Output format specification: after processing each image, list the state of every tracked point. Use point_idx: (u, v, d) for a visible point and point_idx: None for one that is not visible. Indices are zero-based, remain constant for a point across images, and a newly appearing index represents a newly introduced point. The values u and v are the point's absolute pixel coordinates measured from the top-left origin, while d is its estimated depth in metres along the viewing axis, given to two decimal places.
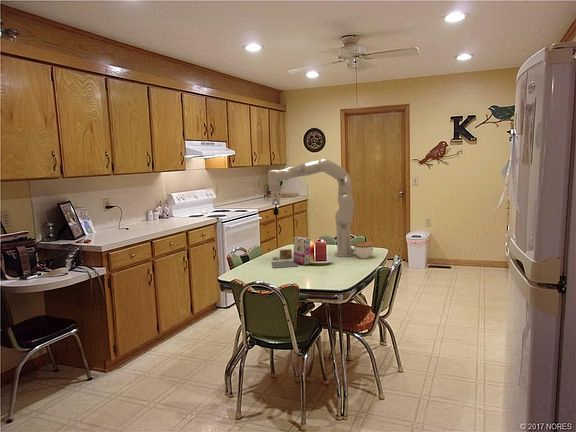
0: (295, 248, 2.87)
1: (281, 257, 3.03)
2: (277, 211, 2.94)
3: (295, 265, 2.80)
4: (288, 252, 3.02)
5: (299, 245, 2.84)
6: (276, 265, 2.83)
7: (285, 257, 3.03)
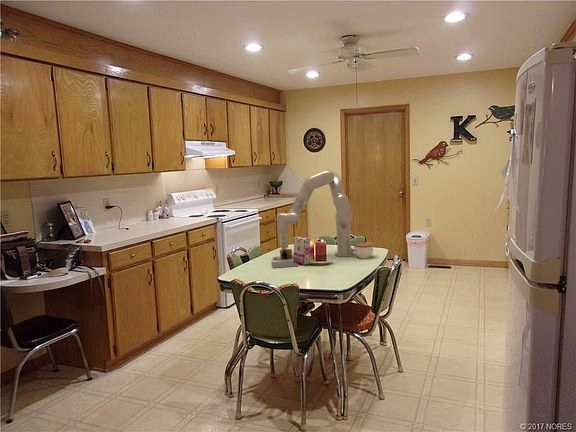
0: (295, 248, 2.87)
1: (281, 257, 3.03)
2: None
3: (295, 265, 2.80)
4: (288, 252, 3.02)
5: (299, 245, 2.84)
6: (276, 265, 2.83)
7: None
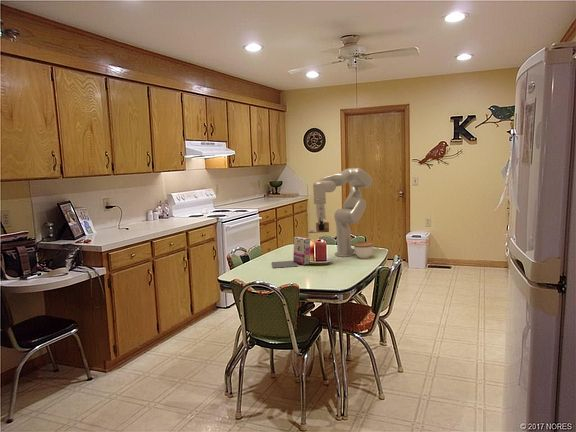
0: (295, 248, 2.87)
1: (317, 230, 2.85)
2: None
3: (295, 265, 2.80)
4: (325, 225, 2.84)
5: (299, 245, 2.84)
6: (276, 265, 2.83)
7: (322, 230, 2.85)
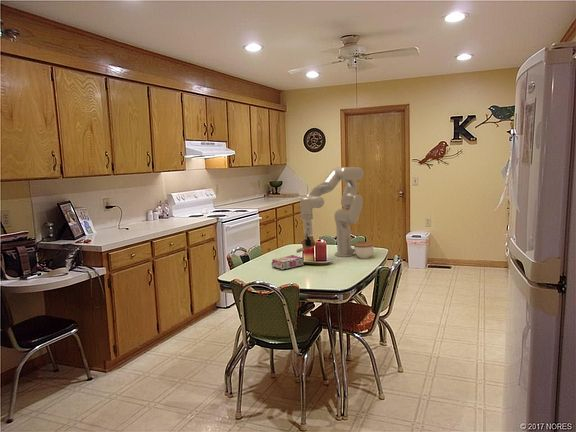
0: None
1: (305, 247, 2.84)
2: None
3: None
4: (310, 239, 2.84)
5: None
6: None
7: (309, 246, 2.84)
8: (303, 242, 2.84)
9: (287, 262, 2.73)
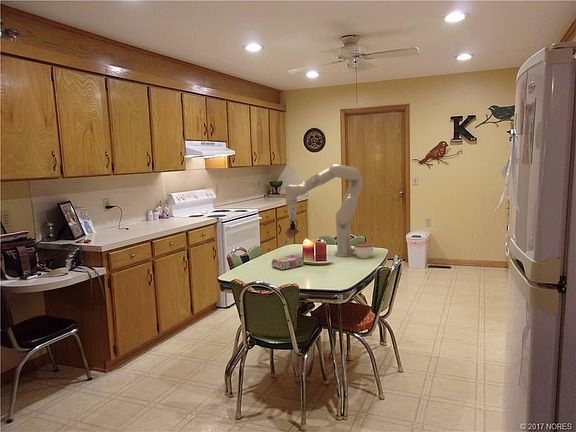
0: None
1: (289, 237, 3.04)
2: (294, 226, 3.03)
3: None
4: None
5: None
6: None
7: (293, 234, 3.04)
8: (286, 233, 3.04)
9: (287, 262, 2.73)
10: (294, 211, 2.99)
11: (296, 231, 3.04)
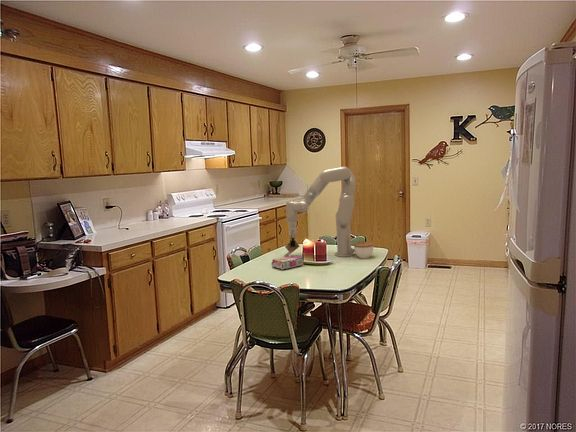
0: None
1: (290, 251, 3.06)
2: (294, 243, 3.04)
3: None
4: None
5: None
6: None
7: (293, 249, 3.05)
8: (287, 247, 3.05)
9: (287, 262, 2.73)
10: (294, 228, 3.00)
11: (297, 246, 3.05)
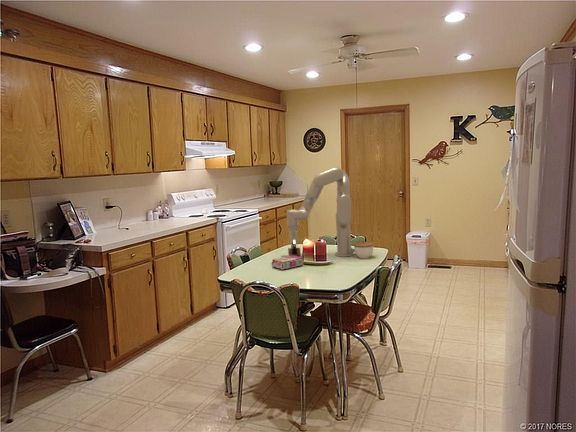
0: None
1: (290, 255, 3.06)
2: None
3: None
4: None
5: None
6: None
7: (294, 255, 3.06)
8: (290, 251, 3.05)
9: (287, 262, 2.73)
10: (295, 236, 3.01)
11: (298, 255, 3.06)
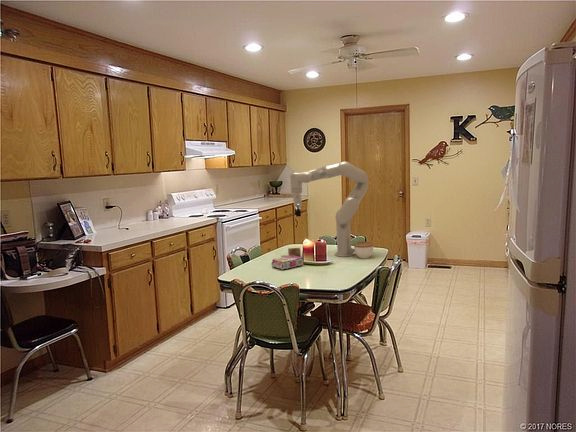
0: None
1: (290, 255, 3.06)
2: None
3: None
4: (296, 250, 3.06)
5: None
6: None
7: (294, 255, 3.06)
8: (290, 251, 3.05)
9: (287, 262, 2.73)
10: (299, 199, 3.00)
11: (298, 255, 3.06)
